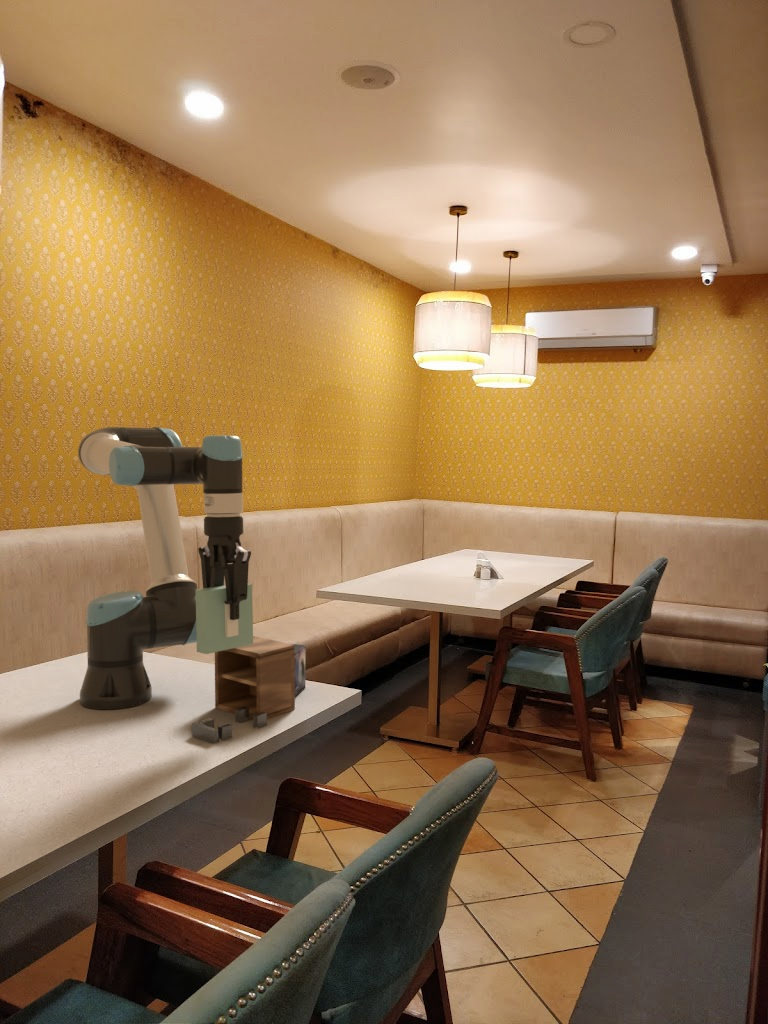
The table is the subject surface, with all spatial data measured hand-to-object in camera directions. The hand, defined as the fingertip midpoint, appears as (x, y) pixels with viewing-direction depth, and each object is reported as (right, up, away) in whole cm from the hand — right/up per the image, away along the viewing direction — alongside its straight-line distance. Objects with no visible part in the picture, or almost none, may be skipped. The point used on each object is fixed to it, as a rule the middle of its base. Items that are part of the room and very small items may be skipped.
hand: (225, 634), depth 159 cm
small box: (+9, -18, +26) cm, 32 cm away
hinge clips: (+1, -19, +1) cm, 19 cm away
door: (0, -3, 0) cm, 3 cm away
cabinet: (+3, -18, +15) cm, 24 cm away
